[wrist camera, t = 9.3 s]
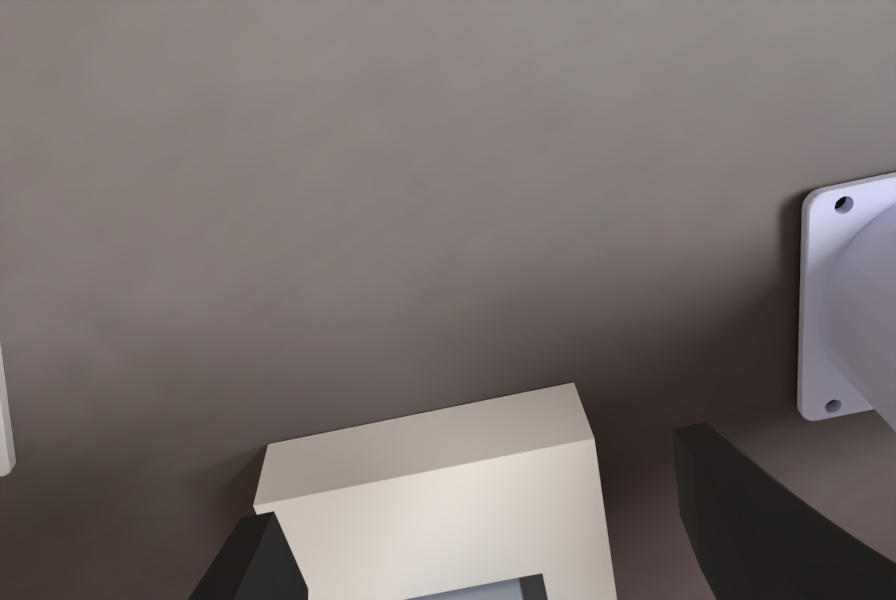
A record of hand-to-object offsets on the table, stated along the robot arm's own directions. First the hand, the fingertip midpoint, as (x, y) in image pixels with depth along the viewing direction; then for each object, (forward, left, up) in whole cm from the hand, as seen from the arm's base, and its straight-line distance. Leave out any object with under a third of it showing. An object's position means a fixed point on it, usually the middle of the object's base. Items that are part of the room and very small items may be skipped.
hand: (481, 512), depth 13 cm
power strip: (+2, +15, -9) cm, 17 cm away
